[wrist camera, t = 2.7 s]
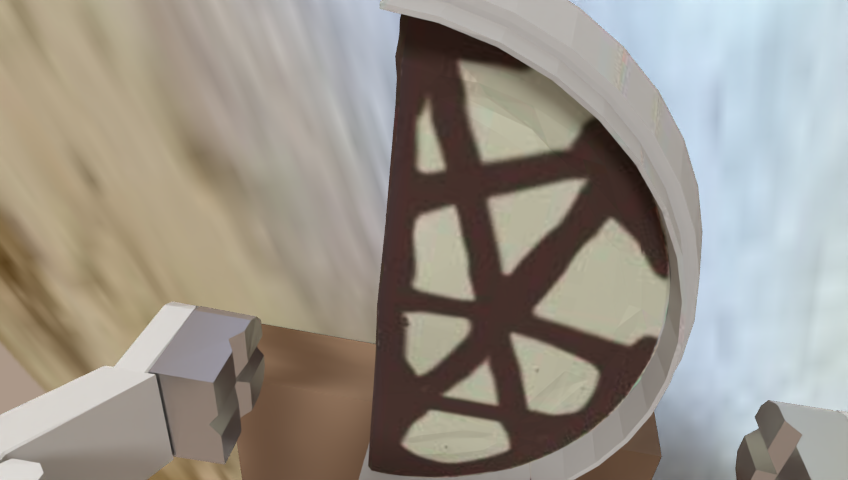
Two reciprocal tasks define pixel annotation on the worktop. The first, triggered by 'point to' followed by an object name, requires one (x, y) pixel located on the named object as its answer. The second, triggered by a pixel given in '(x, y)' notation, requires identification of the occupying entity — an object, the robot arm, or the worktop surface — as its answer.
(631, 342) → the food container
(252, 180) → the worktop surface
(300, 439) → the walnut base
